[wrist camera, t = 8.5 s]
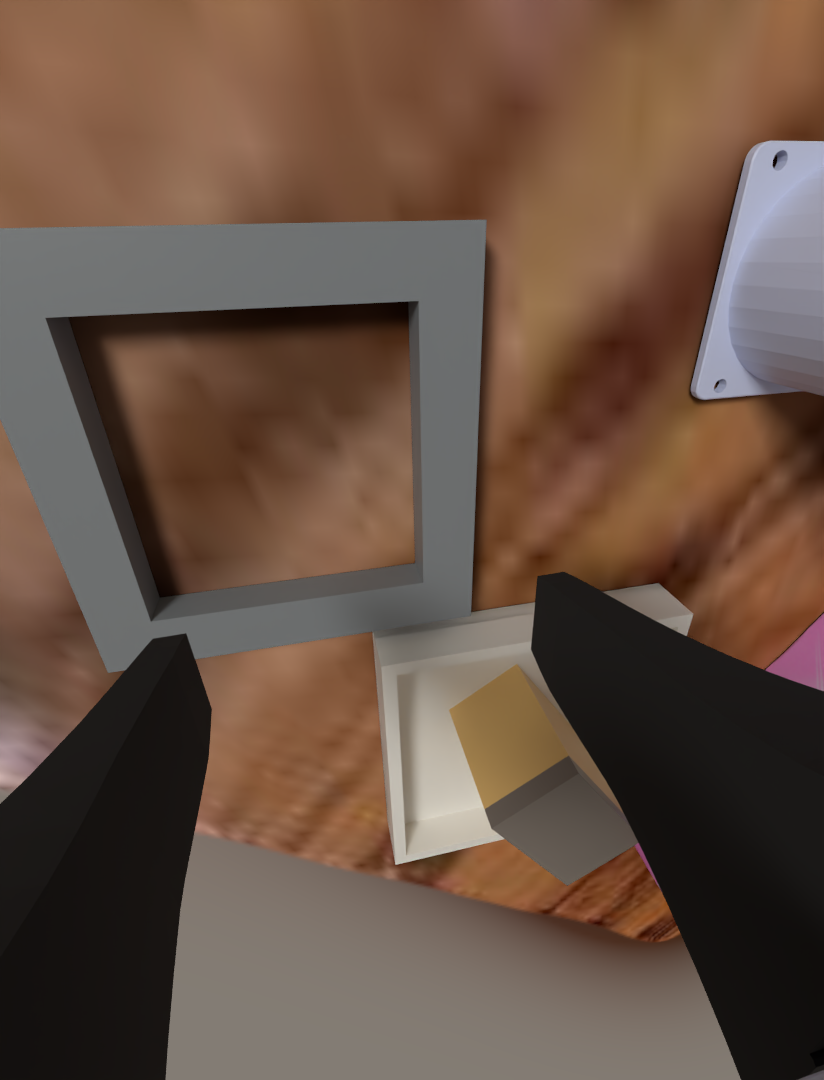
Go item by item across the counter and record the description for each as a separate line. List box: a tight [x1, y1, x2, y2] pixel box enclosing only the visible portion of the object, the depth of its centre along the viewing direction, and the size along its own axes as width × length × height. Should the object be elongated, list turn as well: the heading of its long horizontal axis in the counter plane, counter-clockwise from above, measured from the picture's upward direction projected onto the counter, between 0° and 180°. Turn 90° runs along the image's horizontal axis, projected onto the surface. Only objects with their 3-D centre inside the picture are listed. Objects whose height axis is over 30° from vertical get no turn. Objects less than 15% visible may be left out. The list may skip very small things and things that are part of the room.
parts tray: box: [372, 583, 693, 865], centre depth 26 cm, size 14×14×2 cm
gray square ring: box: [0, 220, 486, 673], centre depth 17 cm, size 14×14×2 cm
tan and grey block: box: [449, 664, 638, 886], centre depth 24 cm, size 4×7×6 cm, turn 35°
